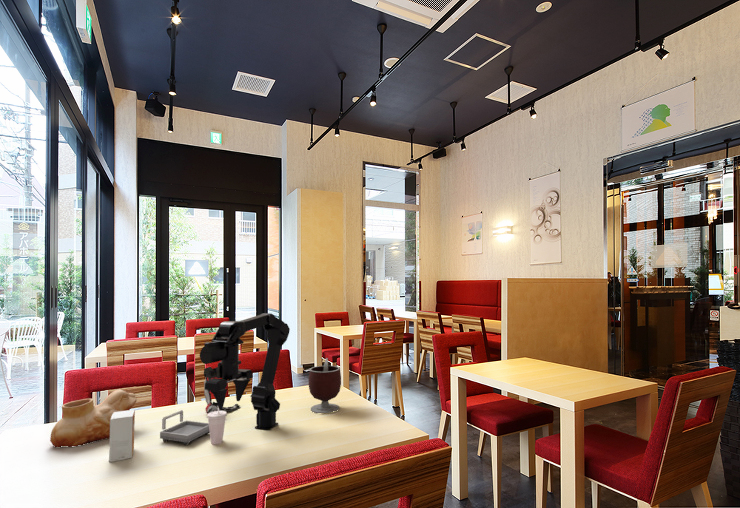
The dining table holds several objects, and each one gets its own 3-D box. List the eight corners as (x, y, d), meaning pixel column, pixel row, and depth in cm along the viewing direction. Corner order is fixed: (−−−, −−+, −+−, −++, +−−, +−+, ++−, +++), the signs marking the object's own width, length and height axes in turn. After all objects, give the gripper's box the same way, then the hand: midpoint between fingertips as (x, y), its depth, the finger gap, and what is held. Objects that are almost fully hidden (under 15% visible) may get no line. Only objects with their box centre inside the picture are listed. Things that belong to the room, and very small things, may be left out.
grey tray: (212, 433, 148) (212, 411, 149) (187, 446, 137) (187, 422, 138) (184, 429, 153) (184, 408, 153) (157, 441, 141) (158, 418, 142)
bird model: (217, 438, 170) (234, 410, 184) (235, 425, 164) (251, 396, 177) (178, 410, 166) (198, 383, 179) (194, 395, 160) (213, 368, 173)
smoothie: (219, 446, 137) (220, 403, 137) (202, 445, 138) (203, 403, 139) (230, 439, 143) (230, 398, 144) (213, 438, 144) (214, 397, 145)
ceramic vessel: (141, 431, 152) (142, 390, 153) (54, 453, 133) (55, 406, 134) (129, 422, 162) (130, 384, 162) (46, 442, 142) (47, 398, 143)
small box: (132, 458, 129) (133, 416, 129) (108, 462, 126) (109, 419, 127) (134, 448, 136) (135, 408, 137) (112, 452, 133) (112, 411, 134)
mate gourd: (339, 414, 167) (339, 364, 169) (306, 414, 168) (305, 365, 169) (342, 403, 183) (342, 357, 184) (312, 403, 183) (311, 358, 184)
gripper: (228, 352, 152) (227, 395, 151) (191, 362, 134) (190, 411, 133) (253, 354, 148) (253, 398, 147) (219, 364, 131) (218, 414, 130)
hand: (229, 404), depth 139 cm, fingers open, 9 cm apart
